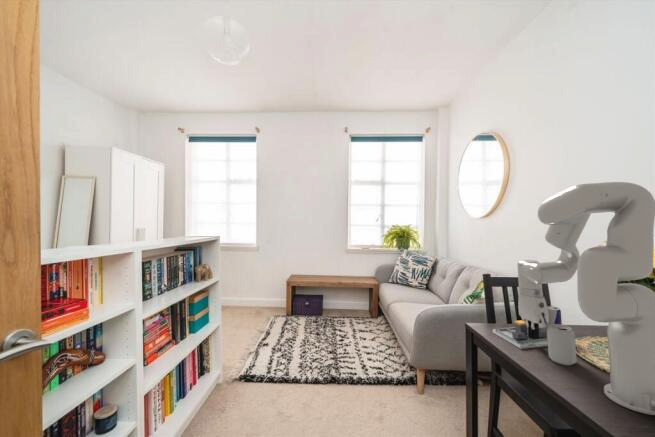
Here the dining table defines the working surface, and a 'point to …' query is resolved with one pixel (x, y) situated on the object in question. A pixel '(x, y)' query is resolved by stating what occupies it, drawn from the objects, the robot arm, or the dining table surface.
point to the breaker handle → (521, 327)
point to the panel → (521, 338)
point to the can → (561, 344)
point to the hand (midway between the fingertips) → (533, 338)
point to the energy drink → (553, 316)
